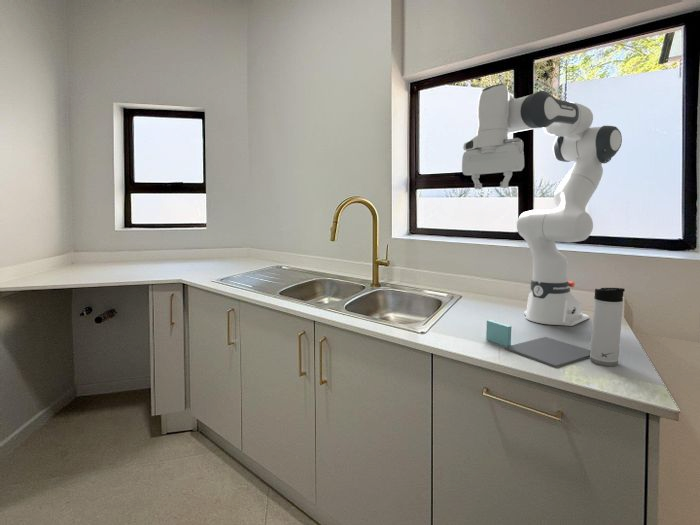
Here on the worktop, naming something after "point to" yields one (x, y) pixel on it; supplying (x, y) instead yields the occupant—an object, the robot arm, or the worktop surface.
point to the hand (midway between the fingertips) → (490, 188)
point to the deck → (498, 333)
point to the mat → (550, 351)
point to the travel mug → (606, 326)
